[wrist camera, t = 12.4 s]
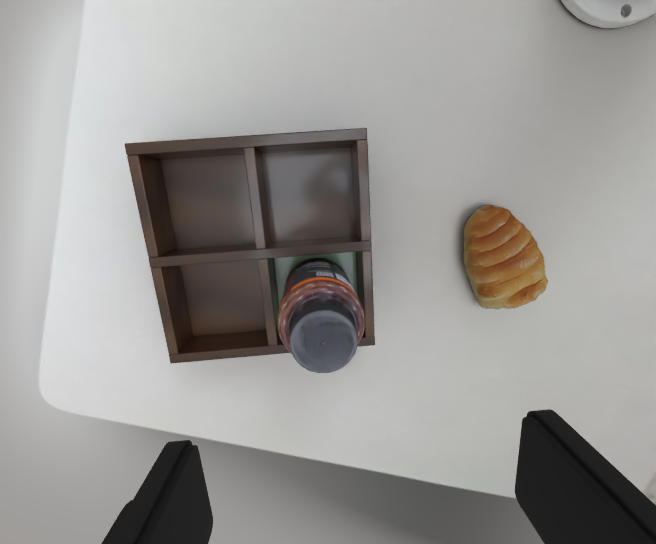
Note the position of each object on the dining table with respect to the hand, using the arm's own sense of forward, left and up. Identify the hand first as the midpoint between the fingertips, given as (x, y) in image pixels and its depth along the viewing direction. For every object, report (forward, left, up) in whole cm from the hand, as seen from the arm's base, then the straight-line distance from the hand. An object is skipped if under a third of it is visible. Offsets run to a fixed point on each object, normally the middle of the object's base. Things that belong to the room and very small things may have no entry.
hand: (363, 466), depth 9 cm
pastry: (0, +16, -22) cm, 27 cm away
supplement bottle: (+1, -1, -21) cm, 21 cm away
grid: (-3, -5, -21) cm, 22 cm away
